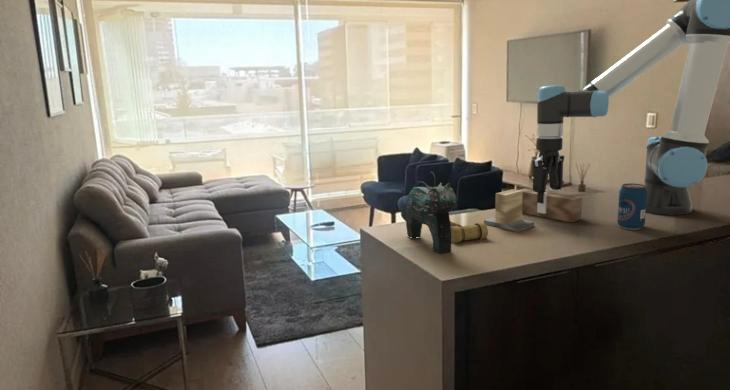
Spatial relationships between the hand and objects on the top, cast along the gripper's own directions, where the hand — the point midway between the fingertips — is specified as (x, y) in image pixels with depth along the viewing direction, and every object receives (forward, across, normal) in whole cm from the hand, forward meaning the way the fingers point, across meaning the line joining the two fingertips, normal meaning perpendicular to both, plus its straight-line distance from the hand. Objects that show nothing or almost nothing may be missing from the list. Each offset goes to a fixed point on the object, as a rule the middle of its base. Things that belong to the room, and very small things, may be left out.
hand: (547, 211), depth 160 cm
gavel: (+2, +34, -8) cm, 35 cm away
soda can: (+2, -4, +24) cm, 24 cm away
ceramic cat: (+2, +48, -5) cm, 48 cm away
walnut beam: (+1, 0, 0) cm, 1 cm away
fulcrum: (+1, +18, -2) cm, 18 cm away
